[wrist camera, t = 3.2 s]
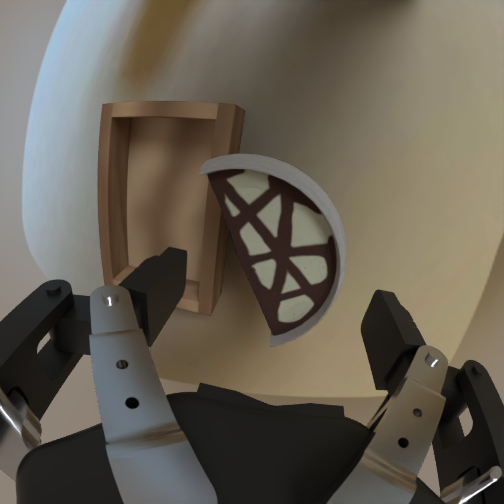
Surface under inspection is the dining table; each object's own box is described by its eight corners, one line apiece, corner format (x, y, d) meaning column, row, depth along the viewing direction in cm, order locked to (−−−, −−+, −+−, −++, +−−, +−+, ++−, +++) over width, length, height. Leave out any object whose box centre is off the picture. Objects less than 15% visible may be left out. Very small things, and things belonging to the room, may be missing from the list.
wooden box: (245, 110, 20) (235, 104, 17) (221, 292, 28) (210, 315, 24) (127, 106, 21) (102, 104, 18) (124, 269, 28) (104, 286, 25)
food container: (344, 262, 24) (367, 331, 15) (281, 279, 26) (273, 353, 17) (304, 129, 20) (314, 120, 11) (234, 153, 22) (193, 163, 13)
